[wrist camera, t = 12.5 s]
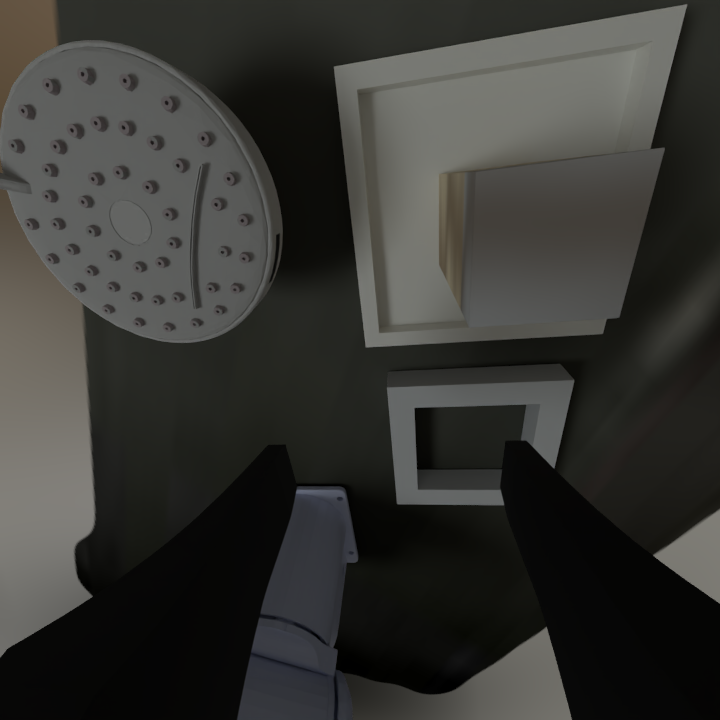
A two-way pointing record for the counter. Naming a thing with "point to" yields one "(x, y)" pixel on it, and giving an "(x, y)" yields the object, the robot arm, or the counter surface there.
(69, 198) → the showerhead
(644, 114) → the tray
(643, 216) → the peg
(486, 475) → the holder
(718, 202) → the counter surface
